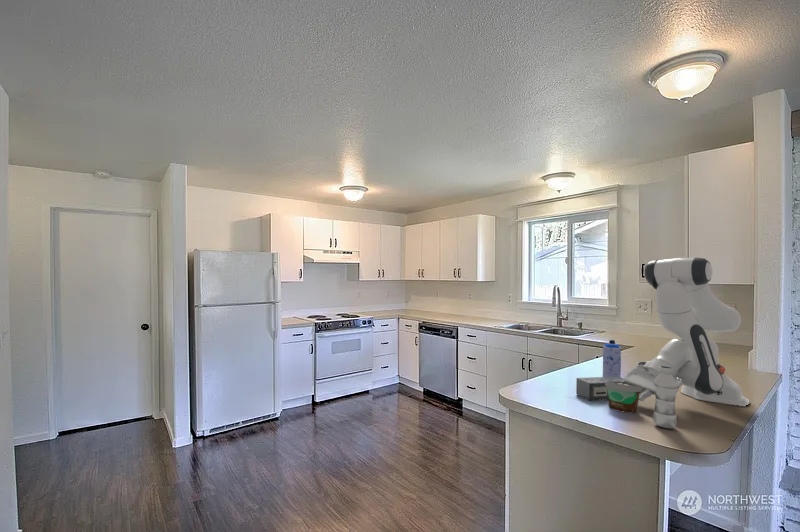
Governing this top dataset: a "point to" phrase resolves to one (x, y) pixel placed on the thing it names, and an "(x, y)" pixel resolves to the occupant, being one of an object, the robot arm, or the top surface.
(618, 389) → the food container
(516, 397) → the top surface
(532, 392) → the top surface
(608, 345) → the aerosol can
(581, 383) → the box
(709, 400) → the robot arm
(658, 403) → the plastic bottle
